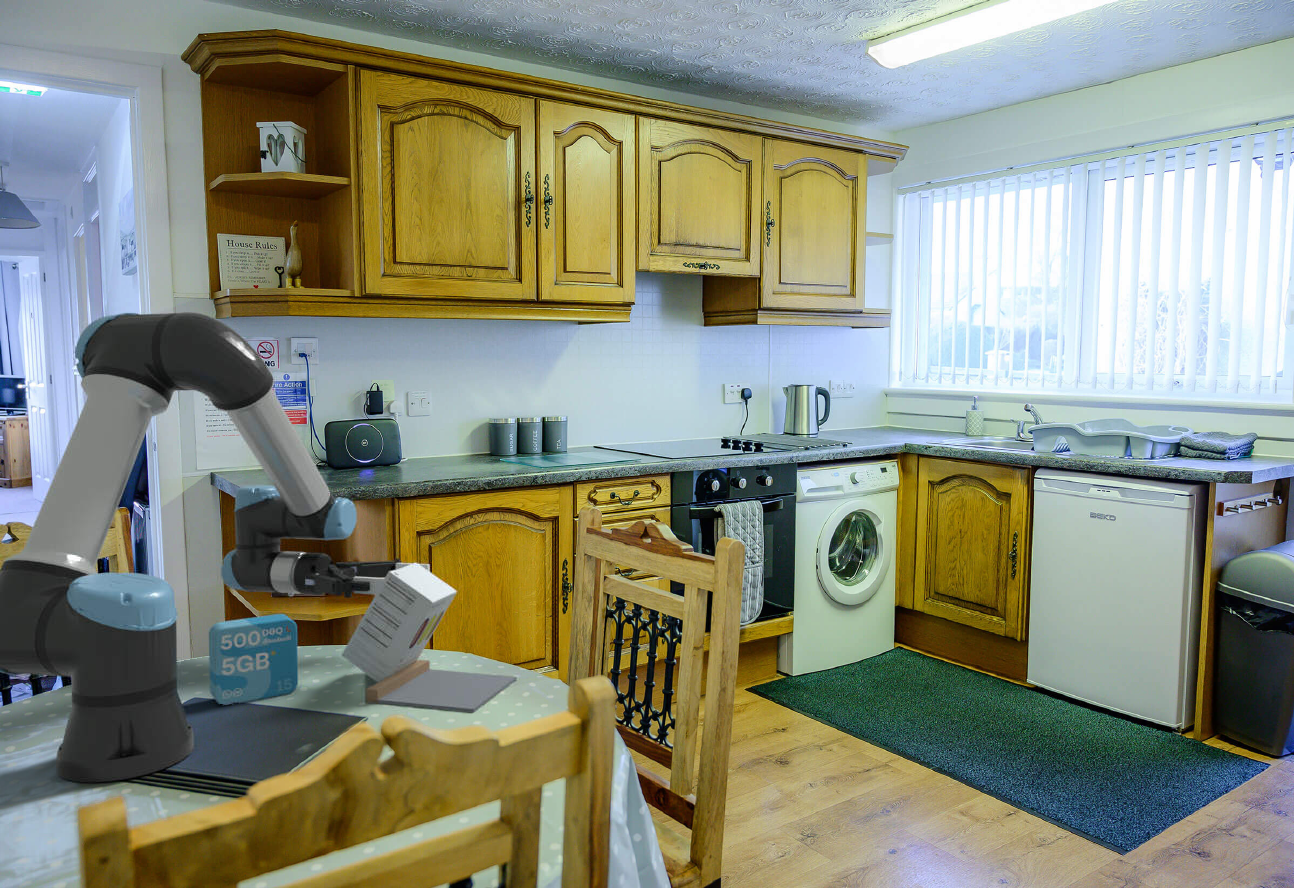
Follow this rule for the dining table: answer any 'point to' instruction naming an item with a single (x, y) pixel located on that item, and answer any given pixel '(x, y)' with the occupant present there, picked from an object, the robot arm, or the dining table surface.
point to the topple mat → (437, 688)
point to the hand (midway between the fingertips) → (409, 579)
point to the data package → (253, 658)
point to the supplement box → (399, 621)
